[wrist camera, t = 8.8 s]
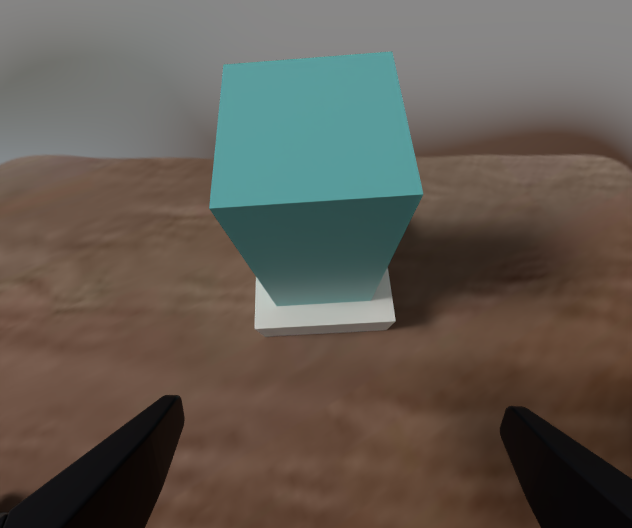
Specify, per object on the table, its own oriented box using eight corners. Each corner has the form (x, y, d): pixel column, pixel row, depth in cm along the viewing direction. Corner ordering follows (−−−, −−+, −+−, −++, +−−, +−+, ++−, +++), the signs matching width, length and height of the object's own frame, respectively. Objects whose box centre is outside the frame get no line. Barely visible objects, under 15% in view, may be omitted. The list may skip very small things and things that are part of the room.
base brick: (386, 330, 20) (395, 321, 17) (265, 336, 20) (254, 329, 17) (372, 223, 23) (377, 201, 20) (266, 230, 23) (258, 208, 20)
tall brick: (370, 300, 17) (422, 194, 8) (276, 306, 17) (209, 208, 8) (360, 218, 19) (392, 51, 10) (276, 223, 20) (223, 64, 10)
